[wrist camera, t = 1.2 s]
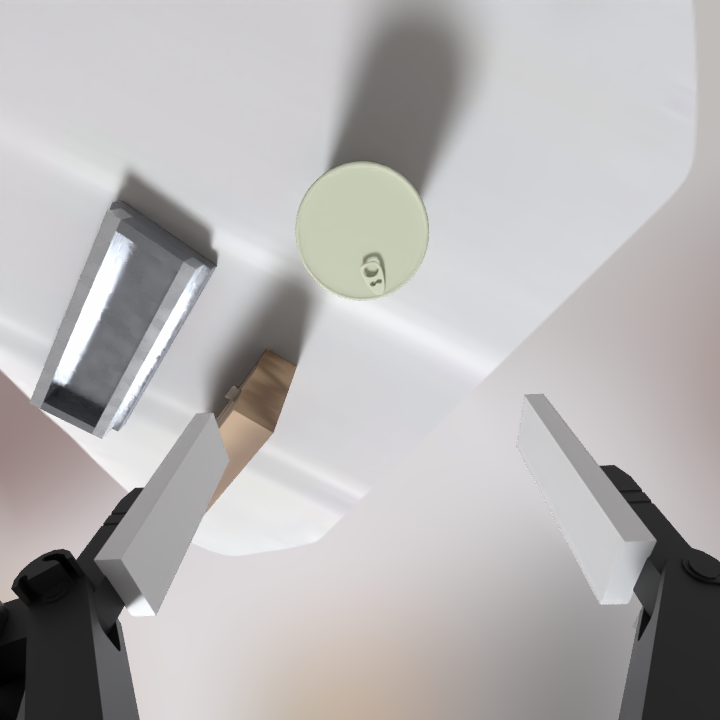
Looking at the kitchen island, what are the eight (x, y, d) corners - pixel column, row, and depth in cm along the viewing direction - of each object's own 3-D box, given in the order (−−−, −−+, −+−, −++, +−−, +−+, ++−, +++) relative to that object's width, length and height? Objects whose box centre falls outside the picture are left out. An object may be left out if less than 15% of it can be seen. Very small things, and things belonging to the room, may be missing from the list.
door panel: (198, 429, 48) (150, 505, 37) (260, 343, 42) (223, 404, 31) (232, 448, 49) (194, 525, 38) (296, 366, 43) (273, 432, 32)
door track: (45, 383, 45) (22, 399, 41) (122, 201, 35) (98, 204, 32) (125, 423, 47) (108, 441, 44) (216, 265, 37) (203, 274, 34)
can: (336, 276, 38) (324, 320, 27) (300, 184, 34) (269, 192, 23) (422, 246, 36) (445, 280, 26) (395, 145, 32) (409, 135, 21)
